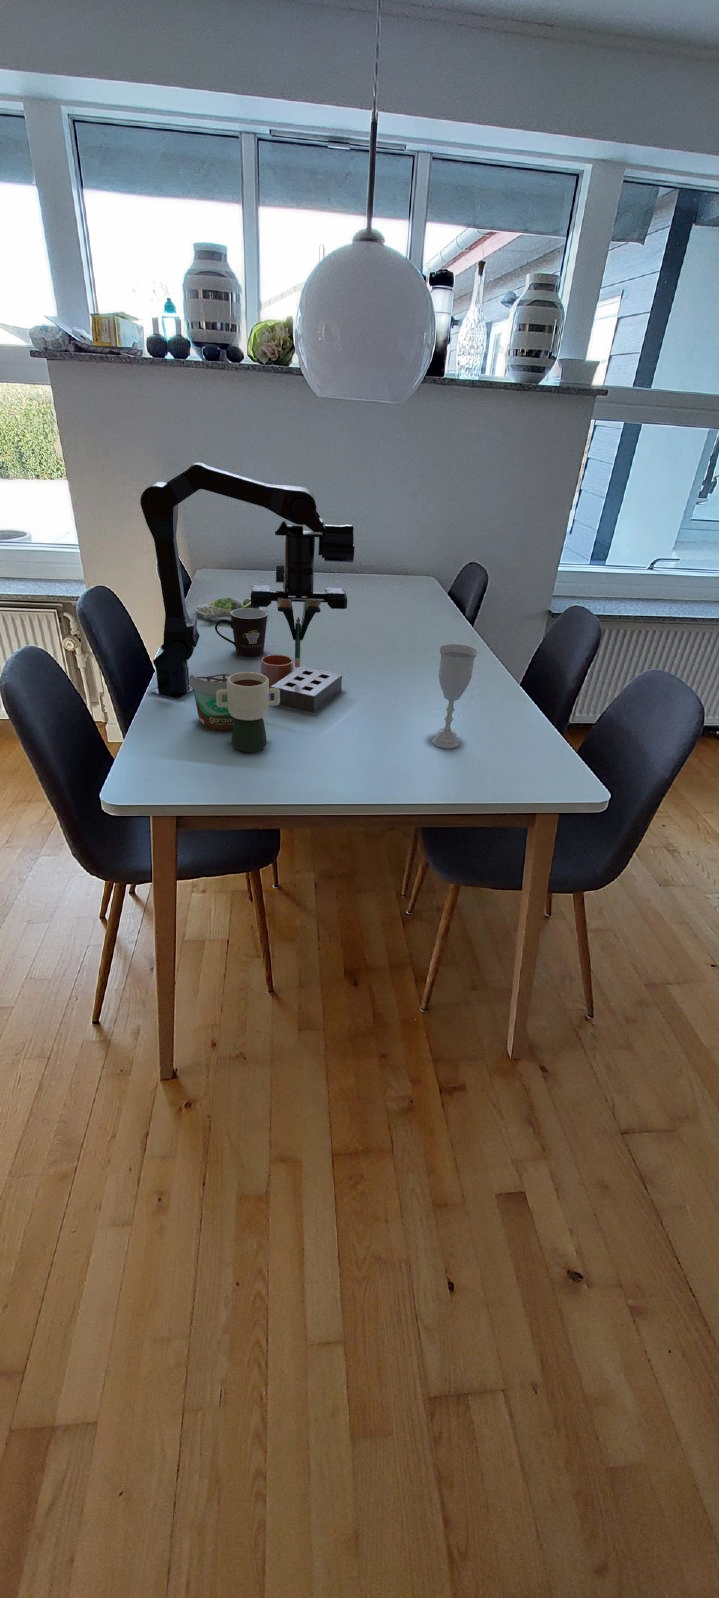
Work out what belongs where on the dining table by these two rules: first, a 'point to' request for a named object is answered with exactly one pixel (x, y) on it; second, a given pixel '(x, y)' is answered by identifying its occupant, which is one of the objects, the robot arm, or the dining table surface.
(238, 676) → the character mug
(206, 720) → the food container
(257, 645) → the coffee mug
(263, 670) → the cup
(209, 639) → the dining table surface
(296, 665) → the pencil
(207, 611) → the salad plate
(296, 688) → the pen block
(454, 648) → the chalice
